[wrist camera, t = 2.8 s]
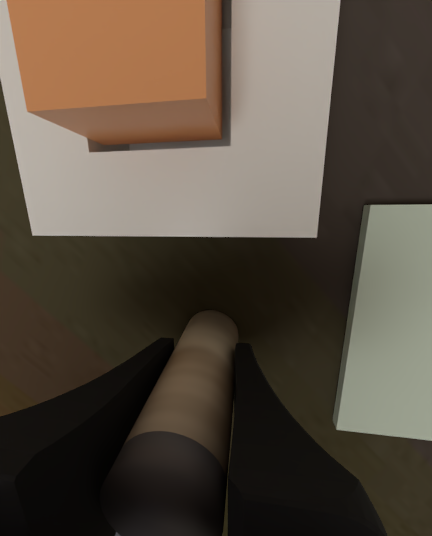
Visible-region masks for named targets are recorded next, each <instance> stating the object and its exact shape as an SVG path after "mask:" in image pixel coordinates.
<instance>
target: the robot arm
mask: <svg viewBox="0 0 432 536" xmlns="http://www.w3.org/2000/svg"><path fill="white" fill-rule="evenodd" d="M173 351H174V339H173V338H160V339H158V340H157V341H155V342H154V343H152V344H151V345H149V346H148V347H146V348H145V349H143V350H142V351H141V352H139V353H138V354H136V355H135V356H133V357H132V358H130V359H129V360H127V361H125V362H124V363H122V364H120V365H119V366H117V367H116V368H114V369H112V370H111V371H109V372H107V373H106V374H104V375H102V376H100V377H98V378H96V379H94V380H92V381H90V382H89V383H87V384H85V385H82V386H80V387H78V388H76V389H74V390H71V391H69V392H67V393H64V394H62V395H60V396H58V397H55V398H53V399H50V400H48V401H45V402H43V403H40V404H37V405H35V406H32V407H29V408H26V409H23V410H20V411H17V412H14V413H11V414H8V415H5V416H1V417H0V536H120V535H119V534H118V533H117V532H116V531H115V530H114V529H113V528H112V527H111V525H110V524H109V523H108V521H107V519H106V518H105V516H104V514H103V512H102V509H101V505H100V490H101V487H102V485H103V483H104V481H105V479H106V477H107V475H108V473H109V471H110V469H111V468H112V466H113V464H114V462H115V460H116V458H117V456H118V454H119V453H120V451H121V449H122V447H123V445H124V443H125V441H126V439H127V437H128V436H129V434H130V432H131V430H132V428H133V426H134V424H135V422H136V420H137V419H138V417H139V415H140V413H141V411H142V409H143V407H144V405H145V404H146V402H147V400H148V398H149V396H150V394H151V392H152V390H153V388H154V387H155V385H156V383H157V381H158V379H159V377H160V375H161V373H162V371H163V370H164V368H165V366H166V364H167V362H168V360H169V358H170V356H171V354H172V353H173ZM234 413H235V417H234V428H233V438H232V448H231V457H230V466H229V475H228V536H387V533H386V531H385V529H384V526H383V524H382V522H381V520H380V518H379V516H378V514H377V512H376V510H375V508H374V506H373V504H372V503H371V501H370V499H369V497H368V495H367V493H366V492H365V490H364V488H363V486H362V484H361V483H360V481H359V480H358V479H357V478H356V477H355V476H353V475H352V474H351V473H350V472H349V471H348V470H346V469H345V468H344V467H343V466H342V465H341V464H339V463H338V462H337V461H336V460H335V459H334V458H332V457H331V456H330V455H329V454H328V453H327V452H326V451H325V450H324V449H323V448H322V447H321V446H319V445H318V444H317V443H316V442H315V441H314V440H313V439H312V438H311V436H310V435H309V434H308V433H307V432H306V431H305V430H304V429H303V428H302V427H301V426H300V424H299V423H298V422H297V421H296V420H295V419H294V418H293V416H292V415H291V414H290V413H289V412H288V410H287V409H286V408H285V406H284V405H283V404H282V402H281V401H280V400H279V398H278V397H277V395H276V394H275V393H274V391H273V390H272V388H271V386H270V385H269V383H268V381H267V380H266V378H265V376H264V374H263V373H262V371H261V369H260V367H259V365H258V363H257V360H256V358H255V356H254V353H253V350H252V346H251V345H250V344H246V343H236V346H235V388H234Z"/></svg>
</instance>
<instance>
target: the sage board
mask: <svg viewBox="0 0 432 536" xmlns="http://www.w3.org/2000/svg"><path fill="white" fill-rule="evenodd" d="M333 422H334V425H335V427H336V430H343V431H352V432H361V433H370V434H379V435H388V436H396V437H405V438H414V439H423V440H432V204H415V205H364V208H363V215H362V222H361V228H360V235H359V242H358V249H357V256H356V263H355V270H354V277H353V283H352V290H351V297H350V304H349V311H348V318H347V325H346V332H345V339H344V345H343V352H342V359H341V366H340V373H339V380H338V387H337V394H336V400H335V407H334V414H333Z"/></svg>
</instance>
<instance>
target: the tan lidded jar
mask: <svg viewBox="0 0 432 536" xmlns="http://www.w3.org/2000/svg"><path fill="white" fill-rule="evenodd" d="M238 338H239V334H238V329H237V326H236V325H235V323H234V321H233V320H232V319H231V318H230V317H229V316H227V315H226V314H224V313H222V312H219V311H215V310H206V311H201V312H199V313H197V314H195V315H194V316H193V317H192V318H191V319H190V321H189V322H188V324H187V326H186V328H185V330H184V332H183V334H182V336H181V338H180V339H179V341H178V343H177V345H176V347H175V349H174V351H173V353H172V354H171V356H170V358H169V360H168V362H167V364H166V366H165V368H164V370H163V371H162V373H161V375H160V377H159V379H158V381H157V383H156V385H155V387H154V388H153V390H152V392H151V394H150V396H149V398H148V400H147V402H146V404H145V405H144V407H143V409H142V411H141V413H140V415H139V417H138V419H137V420H136V422H135V424H134V426H133V428H132V430H131V432H130V434H129V436H128V437H127V439H126V441H125V443H124V445H123V447H122V449H121V451H120V453H119V454H118V456H117V458H116V460H115V462H114V464H113V466H112V468H111V469H110V471H109V473H108V475H107V477H106V479H105V481H104V483H103V485H102V487H101V490H100V505H101V509H102V512H103V514H104V516H105V518H106V519H107V521H108V523H109V524H110V525H111V527H112V528H113V529H114V530H115V531H116V532H117V533H118V534H119V535H120V536H222V533H223V525H224V512H225V500H226V487H227V475H228V463H229V450H230V438H231V425H232V413H233V400H234V388H235V346H236V343H238Z"/></svg>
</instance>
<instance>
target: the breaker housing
mask: <svg viewBox="0 0 432 536" xmlns="http://www.w3.org/2000/svg"><path fill="white" fill-rule="evenodd" d="M339 10H340V0H222V139H219V140H199V141H179V142H158V143H138V144H118V145H102V144H100V143H98V142H95V141H93V140H91V139H89V138H86V137H84V136H82V135H79V134H77V133H75V132H73V131H70V130H68V129H66V128H63V127H61V126H59V125H57V124H54V123H52V122H50V121H47V120H45V119H43V118H41V117H38V116H36V115H34V114H31V113H29V112H27V108H26V103H25V98H24V92H23V87H22V82H21V76H20V71H19V65H18V60H17V55H16V49H15V44H14V39H13V33H12V28H11V22H10V17H9V12H8V6H7V1H6V0H0V78H1V83H2V88H3V93H4V98H5V103H6V108H7V113H8V118H9V122H10V127H11V132H12V137H13V142H14V147H15V152H16V157H17V161H18V166H19V171H20V176H21V181H22V186H23V191H24V196H25V200H26V205H27V210H28V215H29V220H30V225H31V230H32V235H38V236H168V237H298V238H317V230H318V220H319V210H320V200H321V190H322V180H323V170H324V160H325V150H326V140H327V130H328V120H329V110H330V100H331V90H332V80H333V70H334V60H335V50H336V40H337V30H338V20H339Z"/></svg>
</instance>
